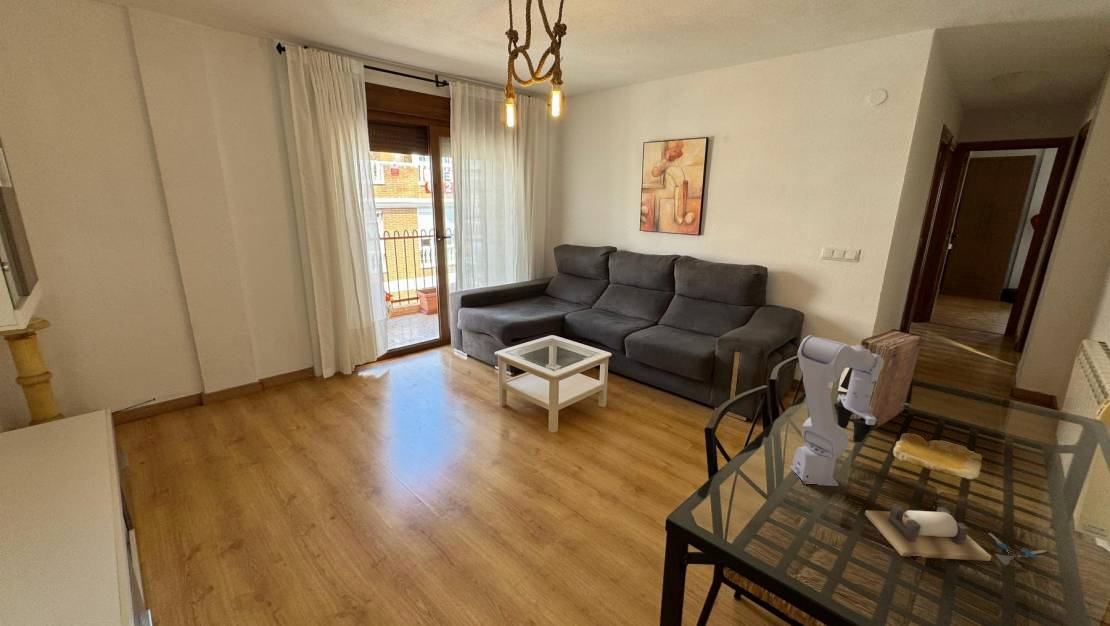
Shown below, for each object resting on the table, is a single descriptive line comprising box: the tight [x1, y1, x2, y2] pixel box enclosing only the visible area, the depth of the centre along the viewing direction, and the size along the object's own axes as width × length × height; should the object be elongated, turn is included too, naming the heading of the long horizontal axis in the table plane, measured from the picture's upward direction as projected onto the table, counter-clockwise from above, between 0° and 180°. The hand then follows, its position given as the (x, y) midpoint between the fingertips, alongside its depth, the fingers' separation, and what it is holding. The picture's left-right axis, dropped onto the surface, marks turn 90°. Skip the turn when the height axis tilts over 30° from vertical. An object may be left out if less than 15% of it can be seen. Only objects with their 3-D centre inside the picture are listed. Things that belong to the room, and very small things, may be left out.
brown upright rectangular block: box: [850, 328, 924, 431], centre depth 156 cm, size 25×9×30 cm, turn 123°
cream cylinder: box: [902, 510, 958, 537], centre depth 102 cm, size 11×5×5 cm
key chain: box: [987, 532, 1047, 569], centre depth 101 cm, size 14×8×1 cm, turn 114°
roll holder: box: [864, 504, 992, 562], centre depth 103 cm, size 19×13×6 cm
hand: (849, 434), depth 129 cm, fingers open, 7 cm apart
